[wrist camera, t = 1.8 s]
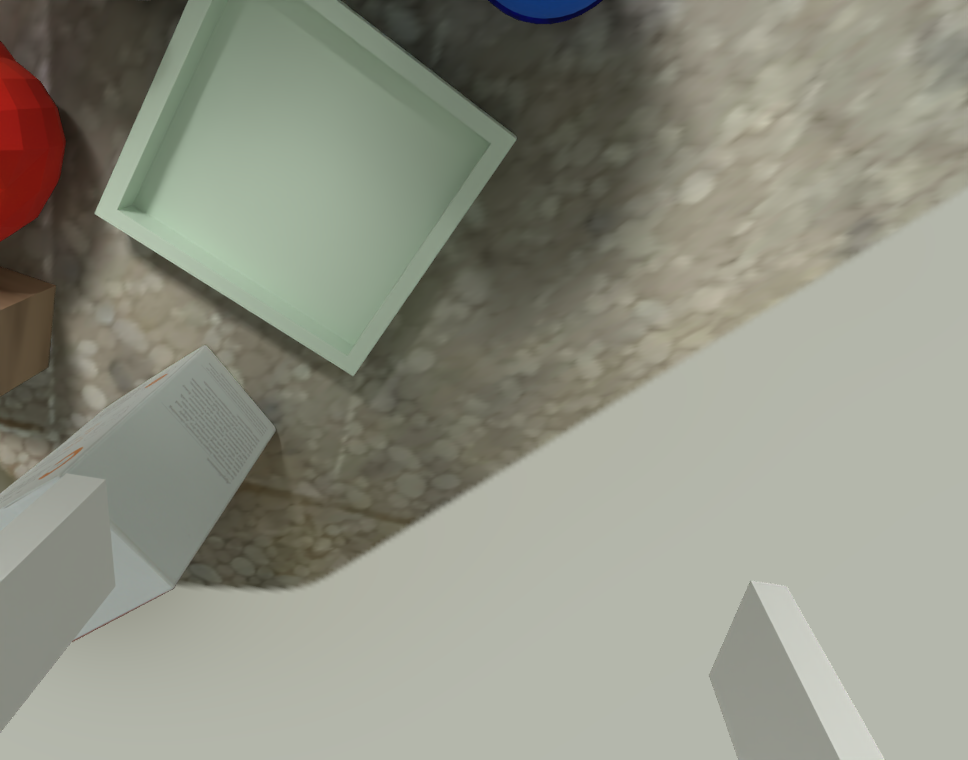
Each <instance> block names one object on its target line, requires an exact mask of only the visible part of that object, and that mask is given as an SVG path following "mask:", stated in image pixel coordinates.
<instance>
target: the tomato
mask: <svg viewBox="0 0 968 760" xmlns="http://www.w3.org/2000/svg"><path fill="white" fill-rule="evenodd" d="M65 144H66V140H65V136H64V132H63V128H62V124H61V120H60V116H59V112H58V108H57V107H56V105H55V103H54V102H53V100H52V99H51V97H50V95H49V94H48V92H47V91H46V89H45V88H44V86H43V84H42V83H41V81H39V80H38V79H37V78H36V77H35V76H33V75H32V74H31V73H30V72H29V71H28V70H26V69H25V68H24V67H23V66H21V65H20V64H19V63H18V62H16V61H15V59H14V58H13V57H12V55H11V54H10V53H9V51H8V50H7V49H6V47H5V46H4V44H3V43H2V42H1V41H0V242H1V241H2V240H4V239H5V238H7V237H9V236H10V235H12V234H13V233H15V232H16V231H18V230H19V229H21V228H22V227H24V226H25V225H27V224H28V223H30V222H31V221H33V220H34V219H36V218H37V217H38V216H39V214H40V212H41V211H42V209H43V207H44V205H45V204H46V202H47V200H48V199H49V197H50V195H51V193H52V192H53V190H54V188H55V186H56V185H57V183H58V180H59V178H60V175H61V169H62V163H63V157H64V150H65Z"/></svg>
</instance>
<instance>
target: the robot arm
mask: <svg viewBox="0 0 968 760" xmlns="http://www.w3.org/2000/svg"><path fill="white" fill-rule="evenodd" d="M114 588H115V575H114V564H113V553H112V542H111V531H110V520H109V509H108V498H107V487H106V479H100V478H93V477H87V476H81V475H74V474H68V473H66V474H65V475H64V476H63V477H62V478H61V479H59V480H58V481H57V482H56V483H55V484H54V485H52V486H51V487H50V488H49V489H48V490H47V491H46V492H44V493H43V494H42V495H41V496H40V497H39V498H38V499H36V500H35V501H34V502H33V503H32V504H31V505H30V506H28V507H27V508H26V509H25V510H24V511H23V512H22V513H20V514H19V515H18V516H17V517H16V518H15V519H14V520H12V521H11V522H10V523H9V524H8V525H7V526H6V527H4V528H3V529H2V530H1V531H0V733H1V731H2V730H3V729H4V727H5V726H6V725H7V724H8V722H9V721H10V720H11V719H12V717H13V716H14V715H15V713H16V712H17V711H18V710H19V708H20V707H21V706H22V705H23V703H24V702H25V701H26V700H27V698H28V697H29V696H30V694H31V693H32V692H33V690H34V689H35V688H36V687H37V685H38V684H39V683H40V682H41V680H42V679H43V678H44V677H45V675H46V674H47V673H48V672H49V670H50V669H51V668H52V666H53V665H54V664H55V663H56V661H57V660H58V659H59V658H60V656H61V655H62V654H63V652H64V651H65V650H66V649H67V647H68V646H69V645H70V644H71V642H72V641H73V640H74V638H75V637H76V636H77V635H78V633H79V632H80V631H81V630H82V628H83V627H84V626H85V624H86V623H87V622H88V621H89V619H90V618H91V617H92V616H93V614H94V613H95V612H96V611H97V609H98V608H99V607H100V605H101V604H102V603H103V602H104V600H105V599H106V598H107V597H108V595H109V594H110V593H111V591H112V590H113V589H114ZM709 677H710V680H711V682H712V686H713V688H714V691H715V694H716V697H717V700H718V703H719V705H720V709H721V711H722V714H723V717H724V720H725V723H726V726H727V729H728V732H729V735H730V737H731V740H732V743H733V746H734V749H735V752H736V755H737V757H738V760H885V759H884V757H883V756H882V754H881V752H880V750H879V748H878V747H877V745H876V743H875V741H874V740H873V738H872V736H871V734H870V733H869V731H868V729H867V727H866V725H865V724H864V722H863V720H862V718H861V717H860V715H859V713H858V711H857V710H856V708H855V706H854V704H853V702H852V701H851V699H850V697H849V695H848V694H847V692H846V690H845V688H844V687H843V685H842V683H841V681H840V680H839V678H838V676H837V674H836V672H835V671H834V669H833V667H832V665H831V664H830V662H829V660H828V658H827V657H826V655H825V653H824V651H823V649H822V648H821V646H820V644H819V643H818V641H817V639H816V637H815V635H814V634H813V632H812V630H811V628H810V626H809V625H808V623H807V621H806V619H805V618H804V616H803V614H802V613H801V611H800V609H799V607H798V605H797V604H796V602H795V600H794V598H793V597H792V595H791V593H790V591H789V589H788V588H787V586H783V585H776V584H771V583H764V582H757V581H750V583H749V585H748V587H747V590H746V592H745V594H744V597H743V599H742V601H741V604H740V606H739V608H738V610H737V613H736V615H735V617H734V619H733V622H732V624H731V626H730V628H729V631H728V633H727V635H726V638H725V640H724V642H723V644H722V647H721V649H720V651H719V654H718V656H717V658H716V660H715V663H714V665H713V667H712V670H711V672H710V674H709Z"/></svg>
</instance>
